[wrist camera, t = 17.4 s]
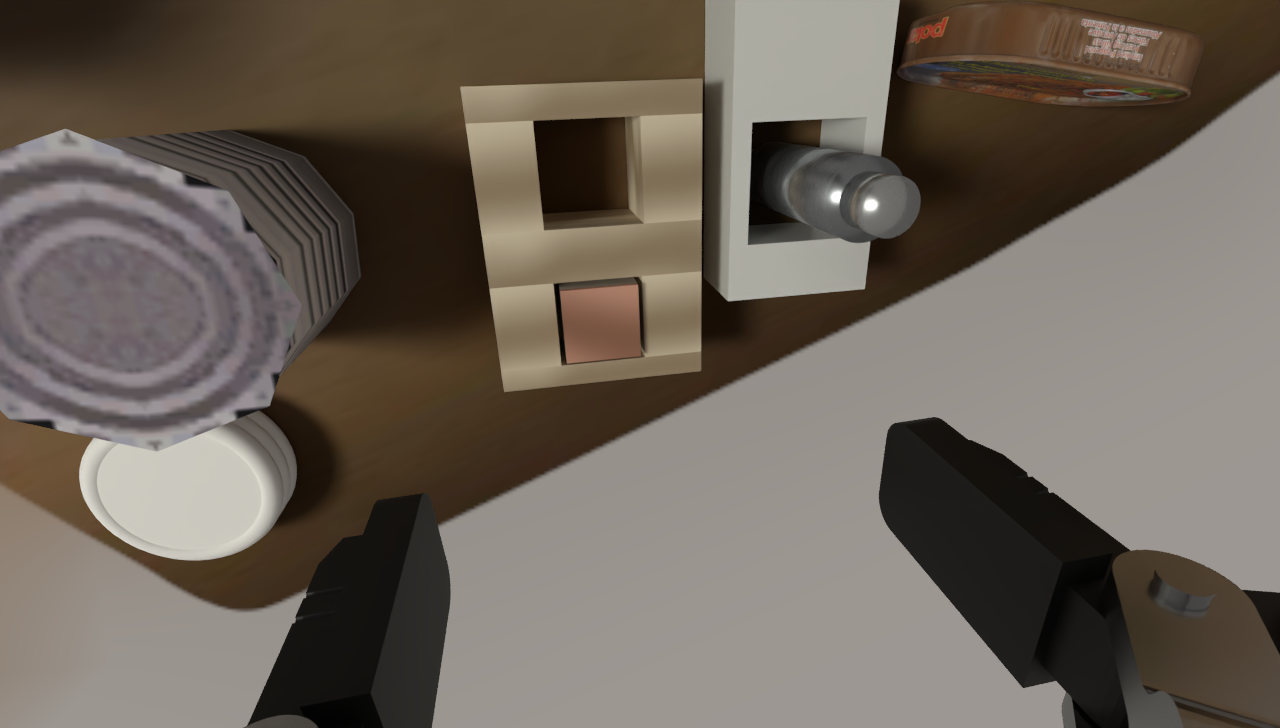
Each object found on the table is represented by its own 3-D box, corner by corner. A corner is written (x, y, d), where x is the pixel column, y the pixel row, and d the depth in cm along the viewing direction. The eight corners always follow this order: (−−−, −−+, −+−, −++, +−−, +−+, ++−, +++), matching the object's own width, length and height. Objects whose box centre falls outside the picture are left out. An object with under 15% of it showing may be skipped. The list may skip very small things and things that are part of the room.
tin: (866, 75, 34) (964, 67, 26) (881, 13, 33) (988, -16, 25) (1083, 111, 37) (1228, 112, 29) (1104, 54, 36) (1260, 40, 28)
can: (138, 89, 28) (-104, 77, 17) (386, 178, 32) (312, 214, 21) (115, 306, 32) (-98, 409, 21) (340, 365, 35) (257, 480, 24)
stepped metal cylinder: (741, 142, 34) (854, 162, 22) (801, 139, 35) (941, 157, 23) (739, 206, 35) (844, 256, 24) (796, 203, 36) (926, 250, 24)
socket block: (470, 89, 31) (460, 86, 26) (677, 82, 32) (702, 78, 28) (507, 356, 37) (504, 391, 32) (680, 339, 38) (701, 371, 34)
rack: (705, -4, 31) (736, -23, 26) (849, -6, 32) (902, -25, 27) (703, 277, 37) (728, 301, 32) (824, 267, 38) (864, 289, 33)
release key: (556, 269, 34) (560, 291, 30) (625, 263, 35) (638, 284, 31) (562, 334, 36) (567, 363, 32) (628, 328, 36) (640, 356, 32)
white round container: (329, 498, 39) (311, 533, 35) (177, 546, 38) (145, 586, 35) (247, 365, 34) (219, 391, 31) (75, 417, 34) (29, 449, 31)
